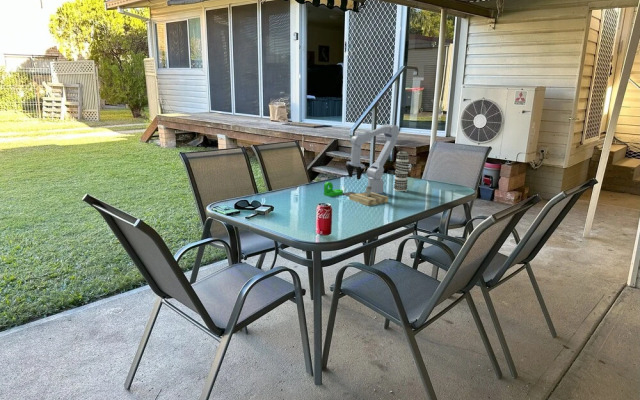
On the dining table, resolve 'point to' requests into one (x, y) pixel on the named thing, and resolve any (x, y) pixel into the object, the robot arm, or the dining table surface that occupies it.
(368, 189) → the pin
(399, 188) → the grey striped cylinder
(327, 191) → the mechanical part
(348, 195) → the mat
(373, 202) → the socket block
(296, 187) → the dining table surface
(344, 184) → the dining table surface
